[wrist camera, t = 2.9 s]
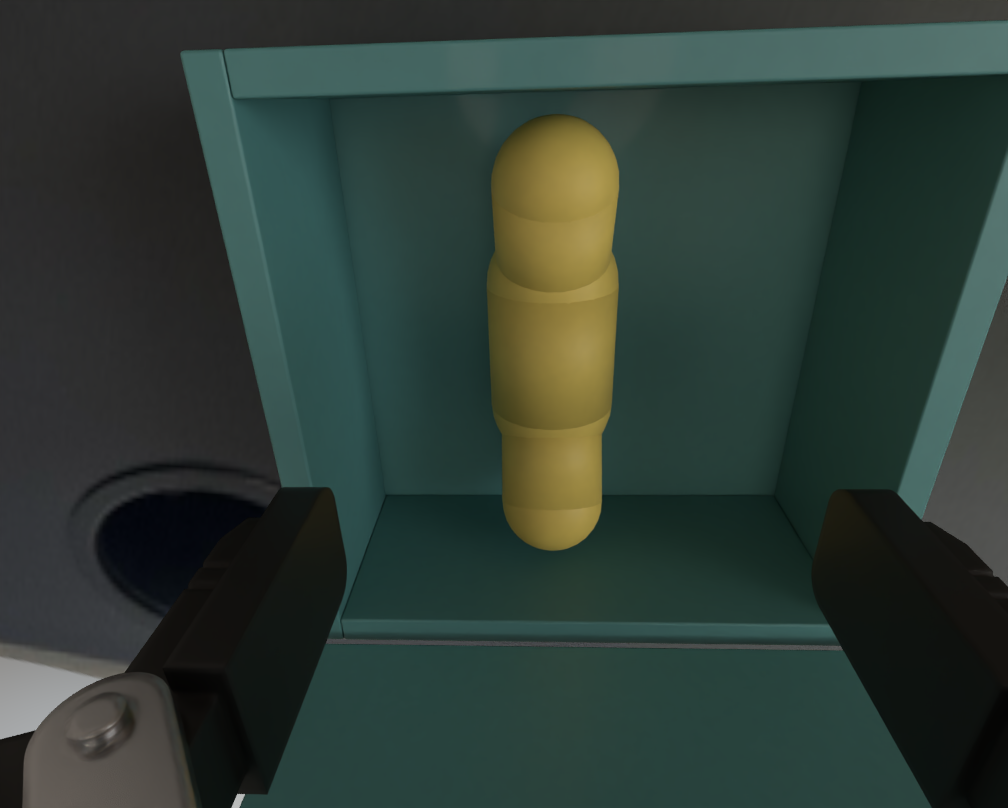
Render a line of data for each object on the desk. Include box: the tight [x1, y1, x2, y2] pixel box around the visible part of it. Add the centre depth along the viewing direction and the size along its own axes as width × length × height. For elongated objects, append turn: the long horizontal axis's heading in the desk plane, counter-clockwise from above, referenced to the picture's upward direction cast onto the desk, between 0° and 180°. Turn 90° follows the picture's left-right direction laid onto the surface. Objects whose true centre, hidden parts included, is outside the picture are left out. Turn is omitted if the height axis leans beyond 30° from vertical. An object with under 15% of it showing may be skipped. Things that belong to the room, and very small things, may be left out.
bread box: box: [180, 20, 1008, 646], centre depth 17 cm, size 15×16×7 cm
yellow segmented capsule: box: [487, 114, 619, 551], centre depth 17 cm, size 12×4×5 cm, turn 2°
